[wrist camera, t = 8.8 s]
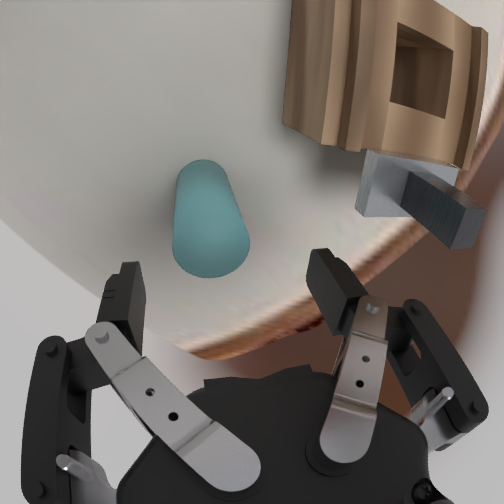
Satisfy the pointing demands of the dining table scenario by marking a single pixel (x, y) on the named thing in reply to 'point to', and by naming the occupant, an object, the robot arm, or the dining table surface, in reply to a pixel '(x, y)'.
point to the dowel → (207, 222)
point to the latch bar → (419, 196)
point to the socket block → (386, 77)
